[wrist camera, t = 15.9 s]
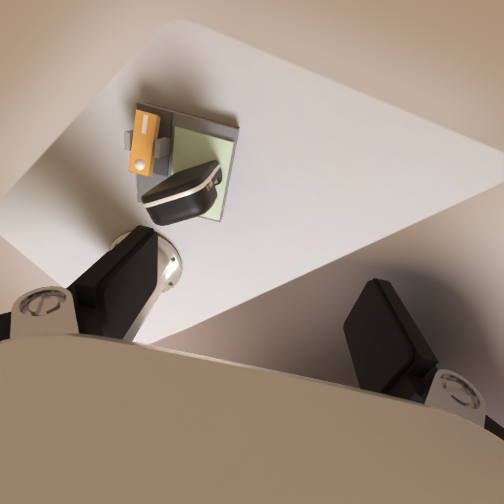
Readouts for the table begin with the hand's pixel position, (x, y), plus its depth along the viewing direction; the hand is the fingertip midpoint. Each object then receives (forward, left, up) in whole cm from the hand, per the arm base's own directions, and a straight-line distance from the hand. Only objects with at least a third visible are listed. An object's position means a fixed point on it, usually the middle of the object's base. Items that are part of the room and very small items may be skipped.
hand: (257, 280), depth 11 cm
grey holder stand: (-3, +11, -28) cm, 30 cm away
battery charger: (-4, +8, -26) cm, 27 cm away
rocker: (-1, +15, -23) cm, 27 cm away
